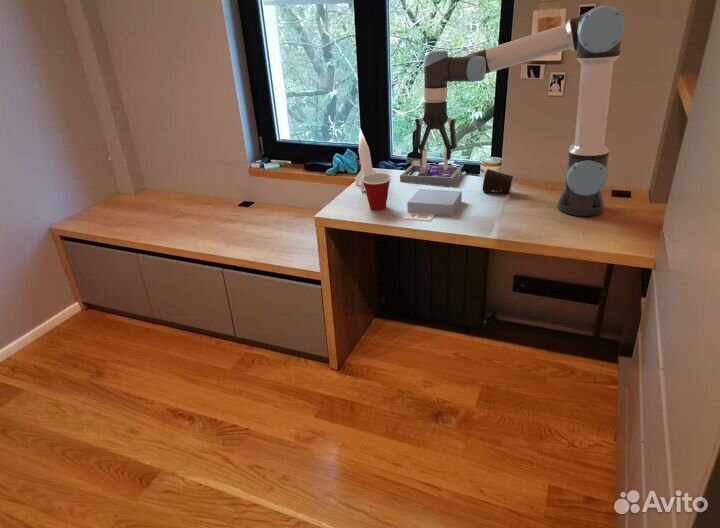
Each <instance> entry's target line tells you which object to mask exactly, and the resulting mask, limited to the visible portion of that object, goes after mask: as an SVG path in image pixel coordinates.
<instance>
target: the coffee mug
mask: <svg viewBox="0 0 720 528" xmlns="http://www.w3.org/2000/svg"><path fill="white" fill-rule="evenodd" d="M513 184H514V176H513V175H510V174H506V173H502V172H500V171H496V170H493V169H489V168H486V171H485V174H484V178H483V183H482V192H487V193H488V192H490V193H503V194H505V193H506V194H510V193H511V191H512V187H513Z"/></svg>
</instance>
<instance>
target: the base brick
mask: <svg viewBox="0 0 720 528" xmlns="http://www.w3.org/2000/svg"><path fill="white" fill-rule="evenodd" d="M462 193H463V192H462V190H446V189H445V190H444V189H431V188H430V189H429V188H427V189H426V188H418V189H417V191H416V192H415V193H414V194H413V195H412V197H411V198H409V200H407V206H406V208H407V212H411V213H424V214H435V216H445V217H453V215H454V214H455V213H456V211H457V210H458V208H459V206H460V205H461V203H462Z"/></svg>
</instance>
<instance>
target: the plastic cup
mask: <svg viewBox="0 0 720 528" xmlns="http://www.w3.org/2000/svg"><path fill="white" fill-rule="evenodd" d="M391 180H392V175H391V174H389V173H387V172H386V173H384V172H376V173H372V174H368V175H365V176H363V177H362V181H363V183H364V189H365V193H366V197H367V201H368V205H369V208H370V210H373V211H383V210H385V209H386V207H387V201H388V195H389V188H390V182H391Z"/></svg>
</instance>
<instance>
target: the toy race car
mask: <svg viewBox="0 0 720 528" xmlns="http://www.w3.org/2000/svg"><path fill="white" fill-rule="evenodd" d="M431 166H432V165H430V164H427V167H426V168H425V169H422V167H419V171H418V173H417V175H416V176H435V177H451V176H452V175H453V174H452V173H451V172H449V171H446V172H445V173H438V170H437V167H433V168H432V169H431Z"/></svg>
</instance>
